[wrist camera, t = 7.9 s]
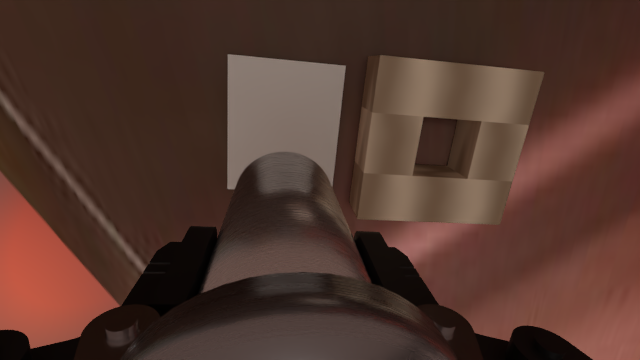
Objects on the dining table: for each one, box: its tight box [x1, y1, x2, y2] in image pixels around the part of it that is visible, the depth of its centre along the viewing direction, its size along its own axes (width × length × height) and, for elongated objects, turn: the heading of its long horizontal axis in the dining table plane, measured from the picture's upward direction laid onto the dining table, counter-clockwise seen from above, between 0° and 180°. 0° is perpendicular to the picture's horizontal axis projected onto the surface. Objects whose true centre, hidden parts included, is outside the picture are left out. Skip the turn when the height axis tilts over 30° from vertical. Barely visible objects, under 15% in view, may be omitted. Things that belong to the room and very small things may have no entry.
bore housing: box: [349, 55, 544, 225], centre depth 31 cm, size 14×14×4 cm
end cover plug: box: [120, 152, 458, 360], centre depth 10 cm, size 6×6×11 cm
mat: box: [228, 54, 346, 189], centre depth 31 cm, size 10×12×1 cm
